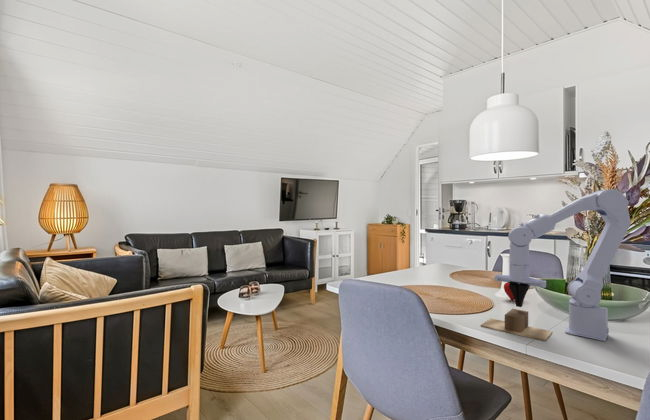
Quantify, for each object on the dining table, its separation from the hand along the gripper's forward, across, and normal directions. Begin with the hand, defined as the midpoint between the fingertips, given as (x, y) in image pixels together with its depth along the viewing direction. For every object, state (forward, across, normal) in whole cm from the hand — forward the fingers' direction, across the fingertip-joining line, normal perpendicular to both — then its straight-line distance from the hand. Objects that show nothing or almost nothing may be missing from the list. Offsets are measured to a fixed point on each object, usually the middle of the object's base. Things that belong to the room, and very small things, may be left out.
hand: (519, 306), depth 110 cm
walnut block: (+4, 0, -1) cm, 4 cm away
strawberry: (+7, +10, -31) cm, 33 cm away
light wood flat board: (+6, 0, +4) cm, 8 cm away
